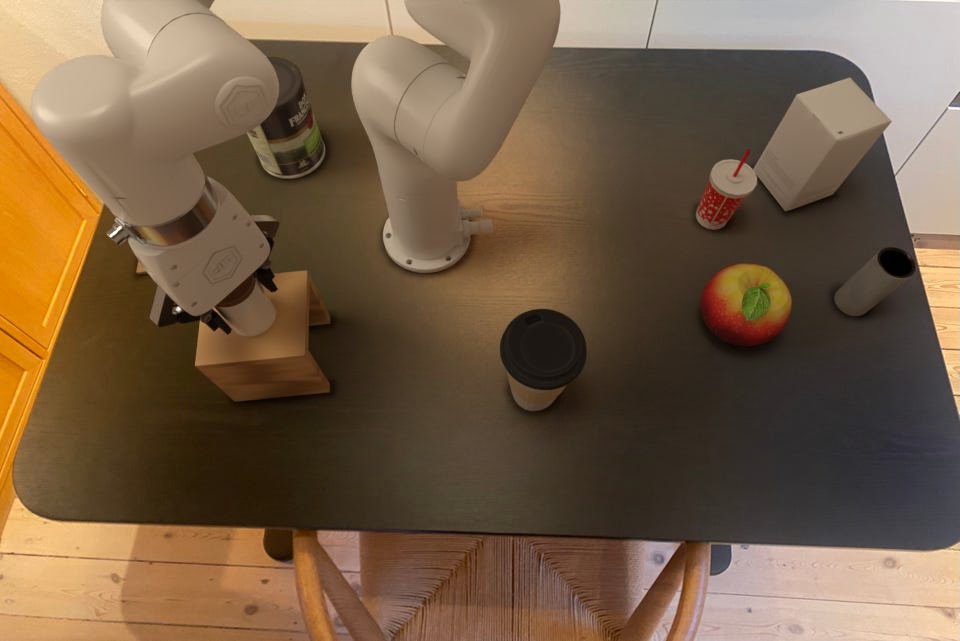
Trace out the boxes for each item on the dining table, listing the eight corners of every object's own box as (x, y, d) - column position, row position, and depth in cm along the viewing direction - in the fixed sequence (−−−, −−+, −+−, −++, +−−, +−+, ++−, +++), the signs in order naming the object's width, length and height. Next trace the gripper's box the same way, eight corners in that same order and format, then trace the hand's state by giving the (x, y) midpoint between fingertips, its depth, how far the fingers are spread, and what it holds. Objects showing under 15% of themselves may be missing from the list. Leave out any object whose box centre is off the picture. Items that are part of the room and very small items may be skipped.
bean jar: (278, 293, 70) (254, 255, 63) (276, 335, 68) (251, 301, 60) (231, 297, 70) (202, 260, 63) (227, 339, 67) (196, 306, 60)
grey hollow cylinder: (872, 298, 83) (921, 257, 74) (861, 322, 81) (910, 284, 72) (840, 282, 84) (884, 240, 75) (828, 306, 82) (872, 266, 73)
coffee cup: (527, 342, 80) (536, 286, 67) (585, 385, 77) (607, 335, 64) (482, 395, 77) (482, 347, 63) (541, 441, 74) (554, 401, 61)
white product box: (835, 195, 91) (896, 121, 77) (784, 213, 89) (837, 141, 76) (799, 152, 95) (851, 74, 81) (750, 169, 93) (795, 92, 80)
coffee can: (334, 134, 97) (312, 60, 84) (313, 184, 92) (286, 114, 80) (273, 124, 98) (242, 50, 85) (249, 173, 93) (213, 103, 81)
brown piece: (330, 316, 82) (307, 270, 71) (329, 392, 77) (305, 355, 66) (241, 324, 82) (204, 279, 71) (234, 401, 77) (194, 366, 66)
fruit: (783, 307, 82) (819, 269, 73) (756, 371, 78) (792, 339, 69) (708, 273, 85) (735, 232, 76) (679, 333, 81) (703, 297, 72)
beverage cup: (737, 208, 90) (778, 141, 77) (726, 239, 87) (767, 175, 75) (696, 194, 91) (731, 126, 78) (685, 225, 89) (718, 159, 76)
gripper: (107, 298, 46) (205, 382, 62) (276, 161, 52) (325, 270, 68) (50, 246, 48) (159, 340, 64) (219, 120, 54) (279, 235, 70)
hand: (244, 303), depth 66 cm, fingers open, 5 cm apart
